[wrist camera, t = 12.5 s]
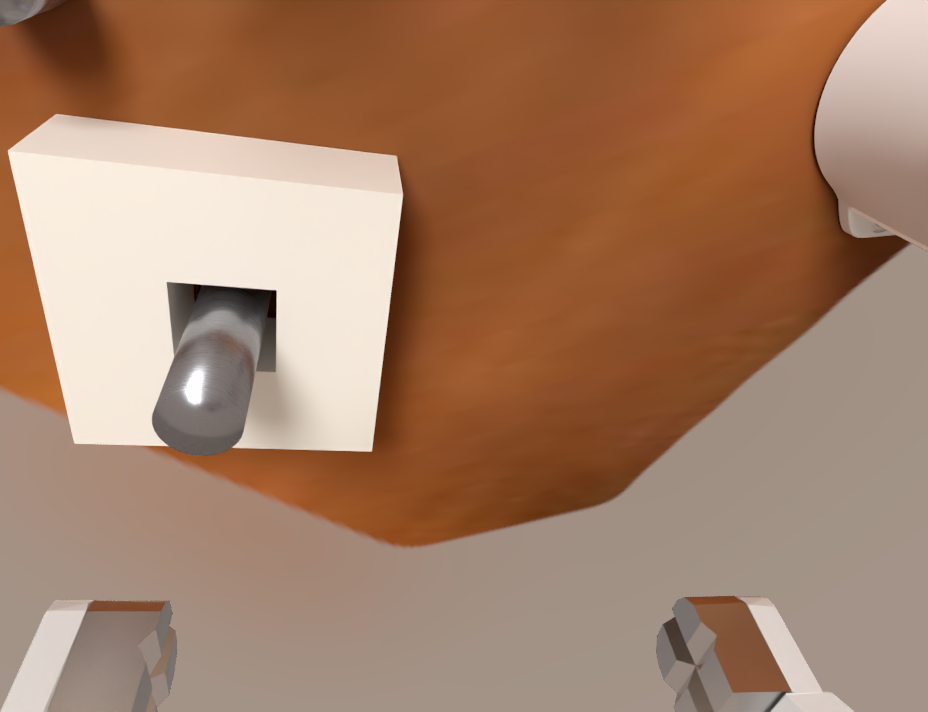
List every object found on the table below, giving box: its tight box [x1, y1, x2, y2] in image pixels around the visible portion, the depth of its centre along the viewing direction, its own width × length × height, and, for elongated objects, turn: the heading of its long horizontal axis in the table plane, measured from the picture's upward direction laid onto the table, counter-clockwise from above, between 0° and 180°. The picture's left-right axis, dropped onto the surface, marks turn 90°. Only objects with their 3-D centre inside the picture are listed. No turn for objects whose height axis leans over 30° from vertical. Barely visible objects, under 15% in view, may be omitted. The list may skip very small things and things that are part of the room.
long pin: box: [152, 285, 272, 456], centre depth 35 cm, size 4×4×14 cm
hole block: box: [8, 114, 403, 452], centre depth 39 cm, size 18×18×6 cm
